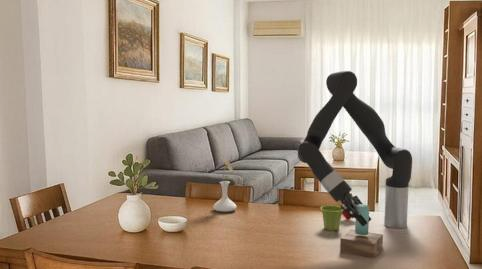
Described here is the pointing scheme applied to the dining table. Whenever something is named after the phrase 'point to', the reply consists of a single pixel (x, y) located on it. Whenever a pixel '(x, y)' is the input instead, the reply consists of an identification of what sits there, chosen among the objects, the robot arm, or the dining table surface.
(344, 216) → the strawberry
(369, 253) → the walnut base
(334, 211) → the plant pot
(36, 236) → the dining table surface
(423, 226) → the dining table surface
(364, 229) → the teal post
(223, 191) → the flower in vase
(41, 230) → the dining table surface
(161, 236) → the dining table surface
